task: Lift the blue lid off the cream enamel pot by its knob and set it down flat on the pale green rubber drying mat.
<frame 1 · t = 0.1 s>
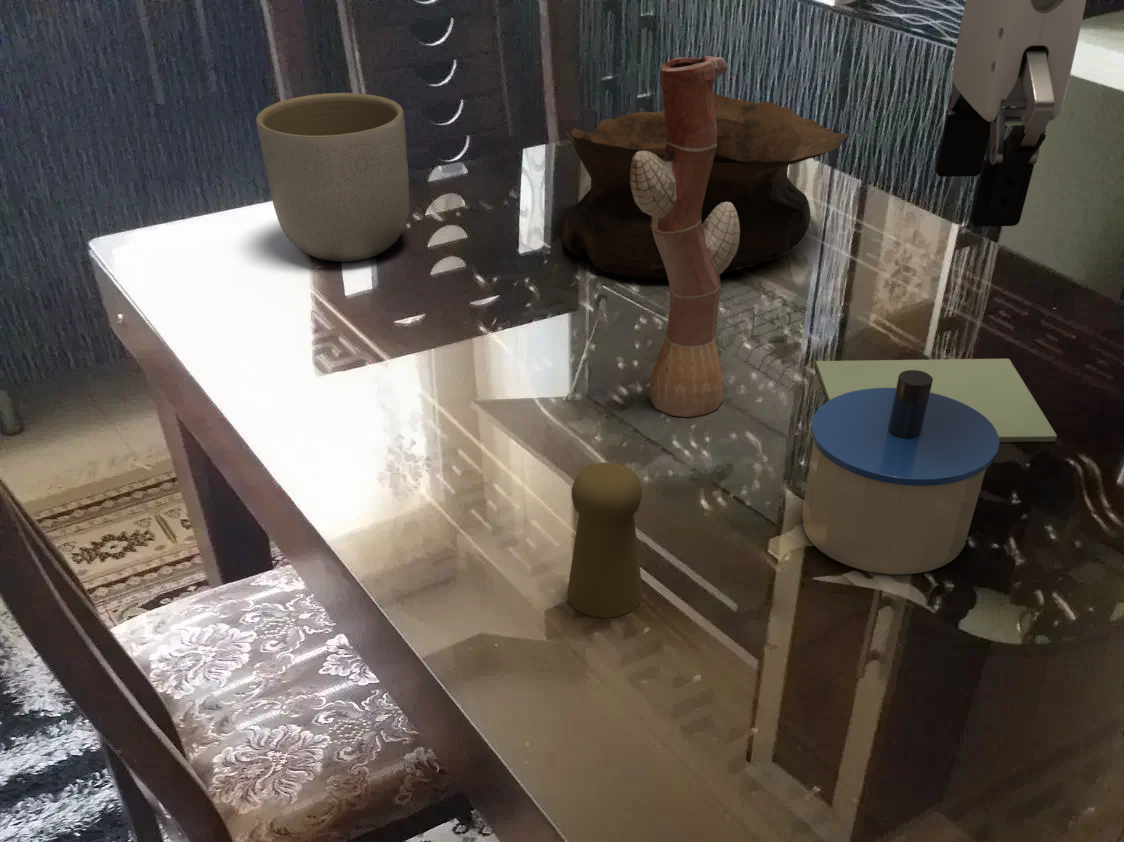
hand: (974, 198, 80), 26 cm above the table, tool pointing down, fingers open, 9 cm apart
lid: (902, 437, 92), point 8 cm above the table, touching pot
pot: (883, 527, 98), on the table
vase: (675, 402, 114), on the table
mat: (929, 402, 113), on the table
bowl: (690, 241, 144), on the table
planter: (348, 248, 144), on the table
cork: (604, 596, 92), on the table
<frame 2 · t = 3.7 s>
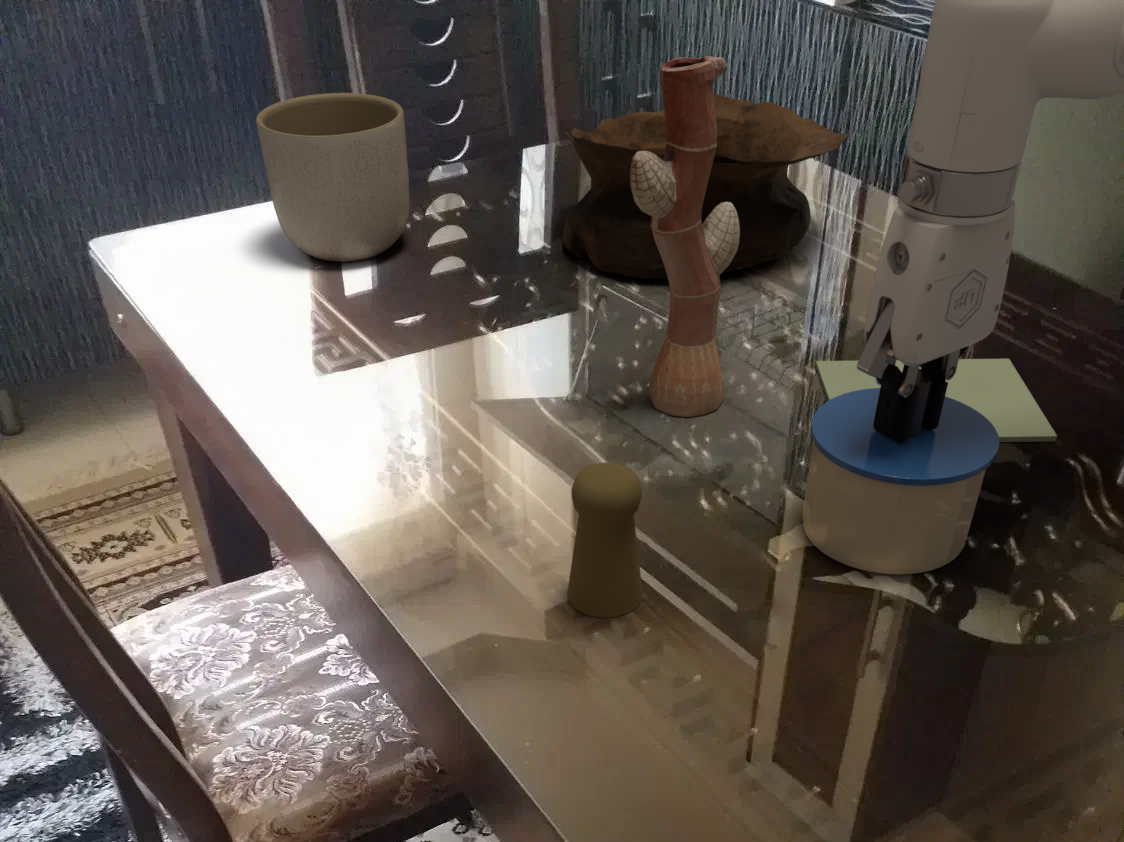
hand: (905, 427, 91), 9 cm above the table, tool pointing down, fingers closed on lid, 2 cm apart
lid: (902, 437, 92), point 9 cm above the table, touching gripper, pot
everything else where it was.
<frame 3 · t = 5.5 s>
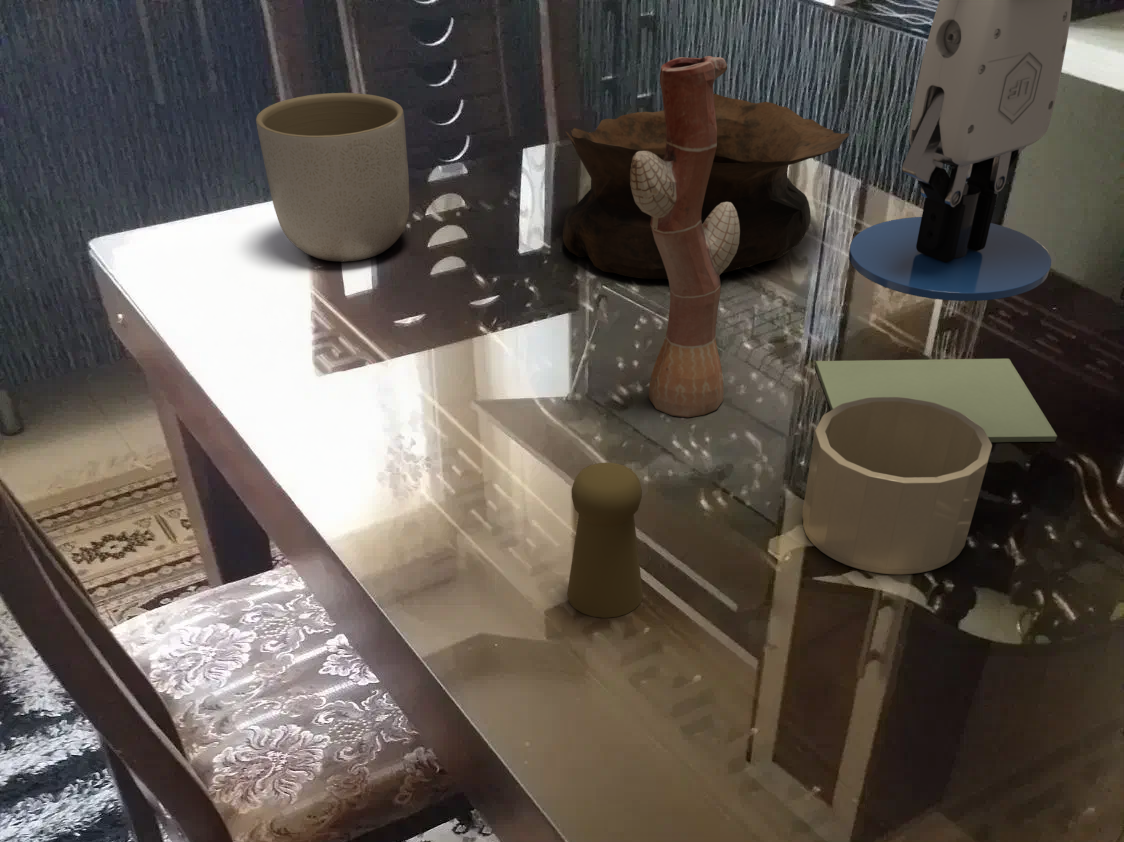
hand: (950, 248, 86), 22 cm above the table, tool pointing down, fingers closed on lid, 2 cm apart
lid: (947, 260, 86), point 21 cm above the table, touching gripper
everything else where it was.
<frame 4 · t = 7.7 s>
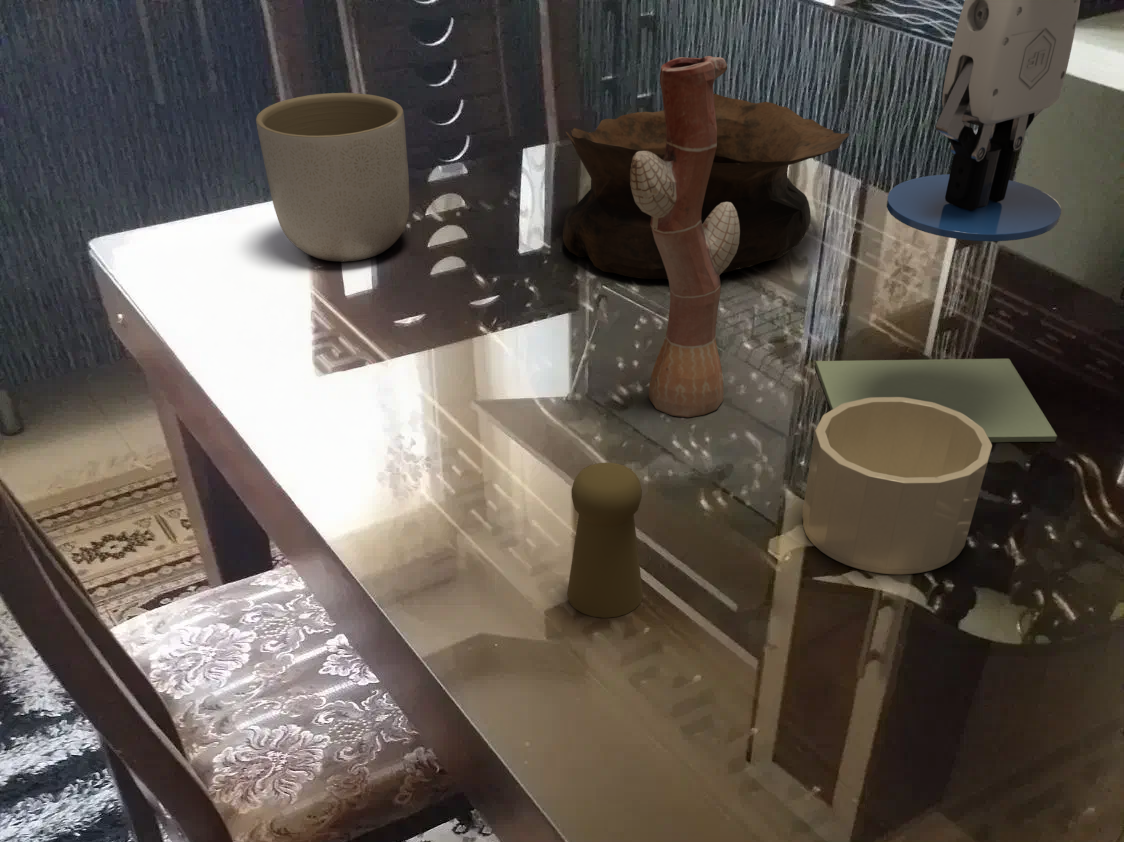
hand: (974, 199, 99), 19 cm above the table, tool pointing down, fingers closed on lid, 2 cm apart
lid: (971, 209, 100), point 18 cm above the table, touching gripper
everything else where it was.
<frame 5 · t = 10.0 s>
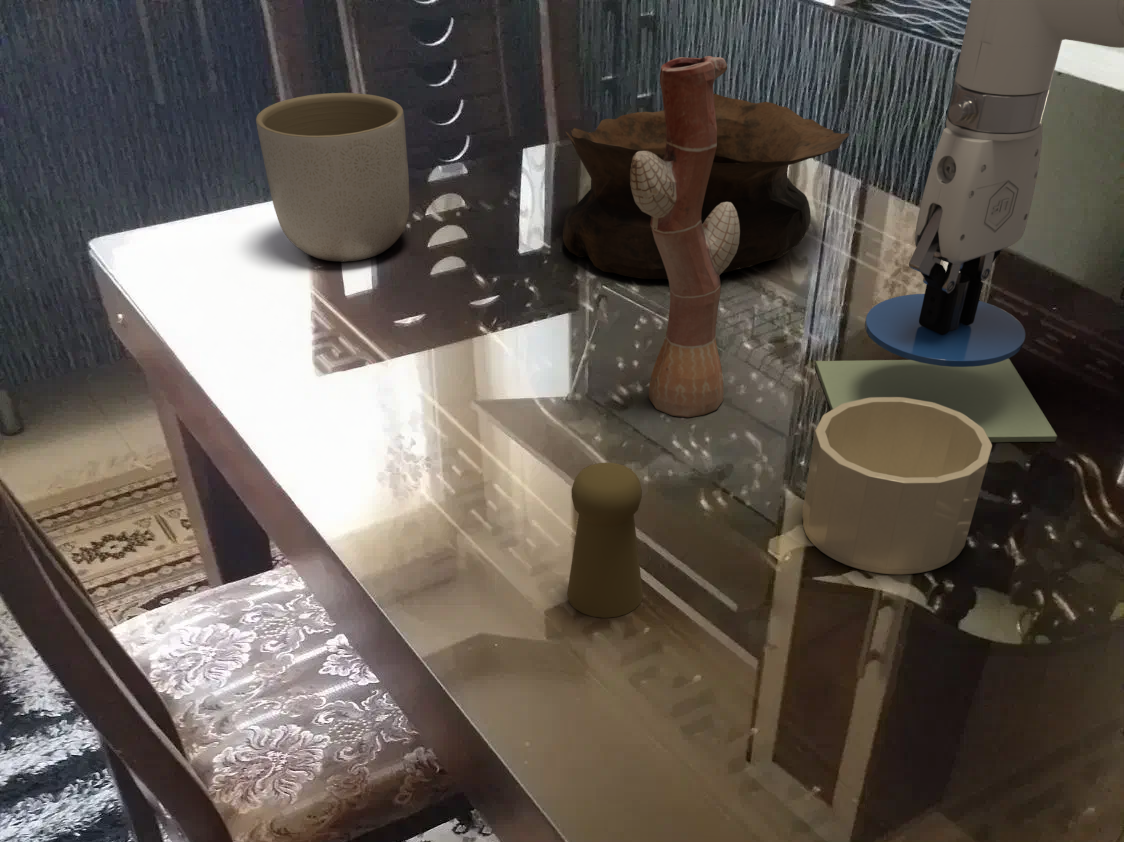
hand: (945, 322, 108), 8 cm above the table, tool pointing down, fingers closed on lid, 2 cm apart
lid: (943, 331, 108), point 7 cm above the table, touching gripper
everything else where it was.
when the fingers open (2 cm above the table, at t = 11.6 s): lid stays where it is, resting on mat.
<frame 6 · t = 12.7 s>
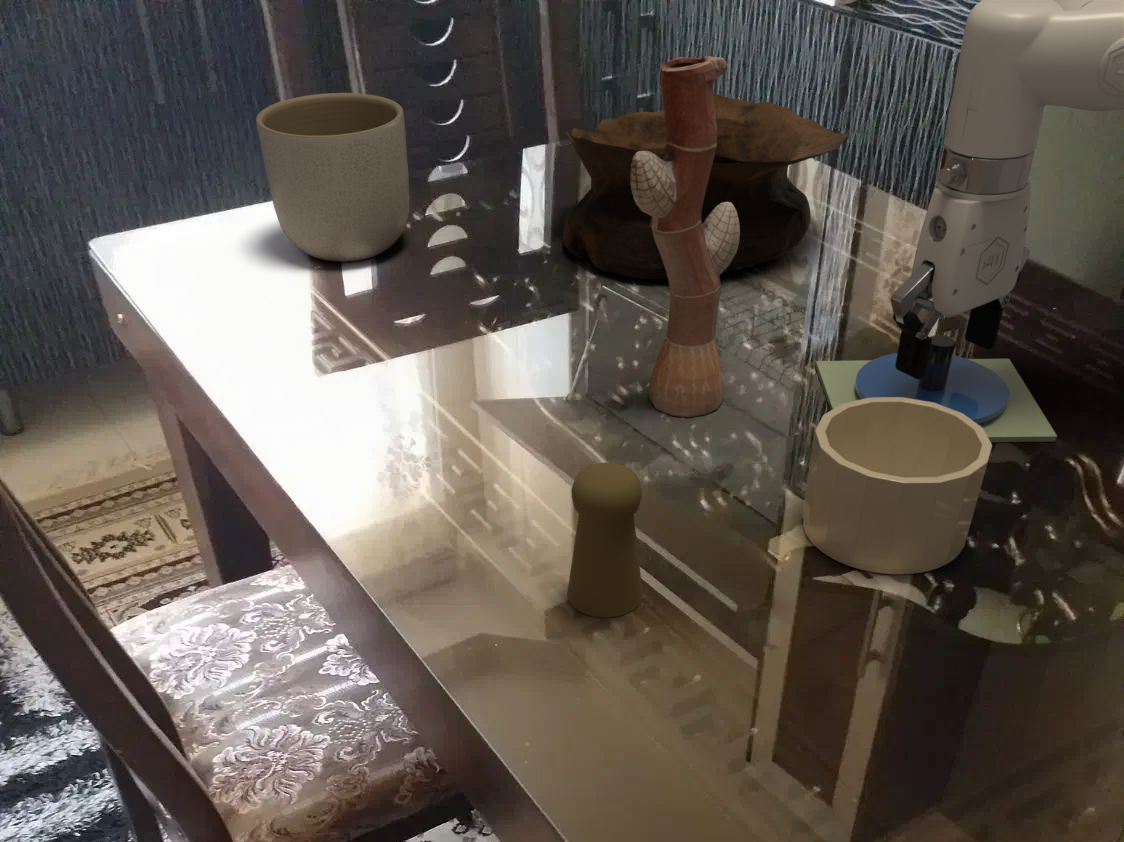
hand: (944, 358, 110), 4 cm above the table, tool pointing down, fingers open, 9 cm apart
lid: (930, 390, 113), point 1 cm above the table, touching mat
everything else where it was.
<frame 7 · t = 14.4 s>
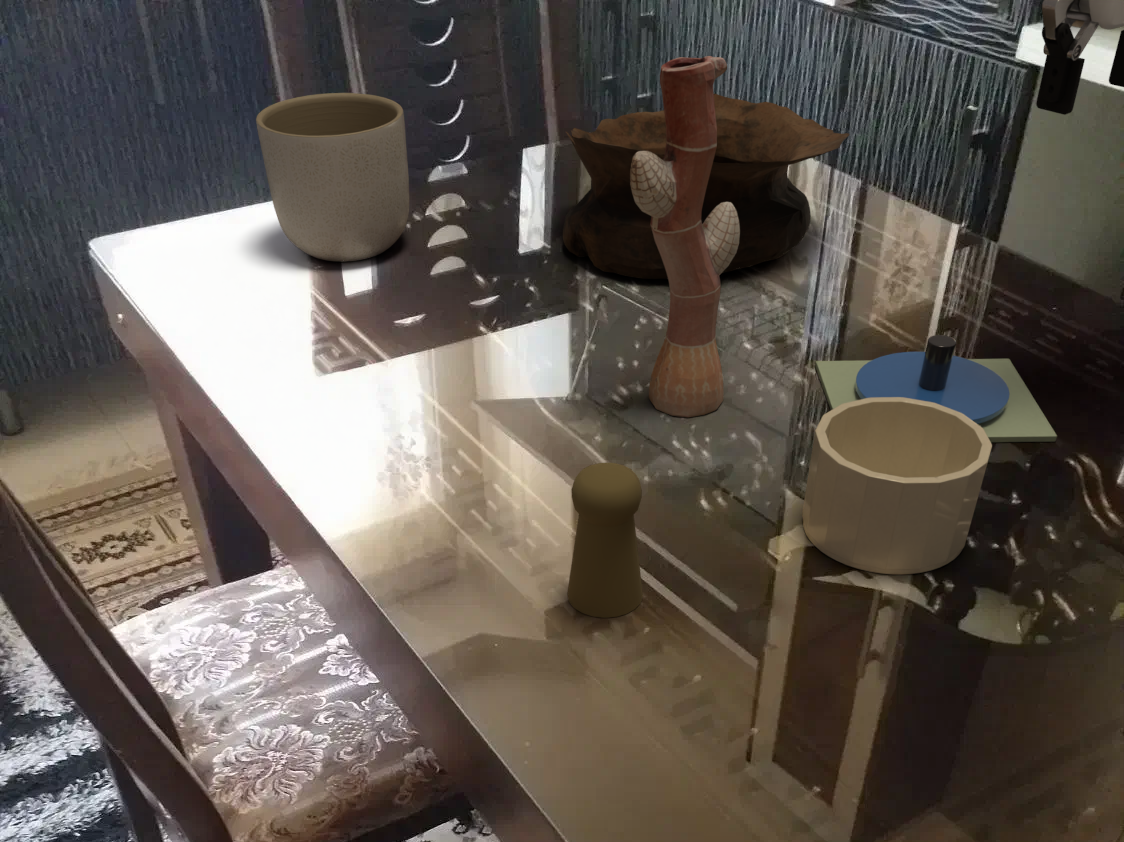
hand: (1090, 98, 97), 26 cm above the table, tool pointing down, fingers open, 9 cm apart
nothing on the table moved.
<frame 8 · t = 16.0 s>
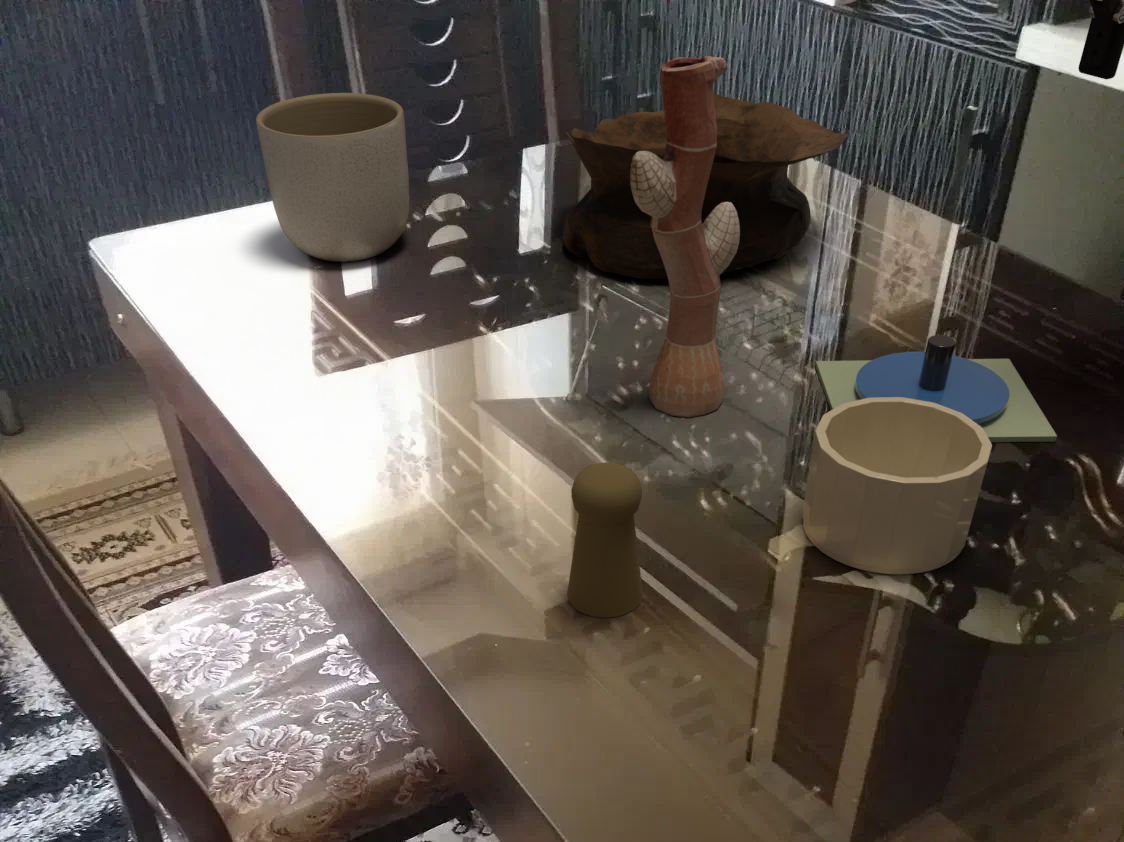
nothing on the table moved.
at the end: lid inside the target area on the mat (0.1 cm from its centre), point 1.2 cm above the mat's base; lid tilted 0°; the gripper is holding nothing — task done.
